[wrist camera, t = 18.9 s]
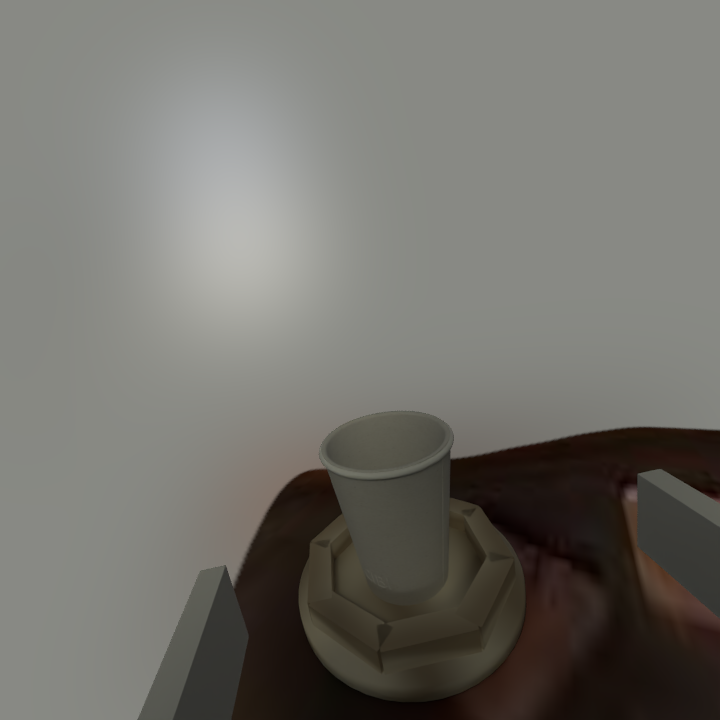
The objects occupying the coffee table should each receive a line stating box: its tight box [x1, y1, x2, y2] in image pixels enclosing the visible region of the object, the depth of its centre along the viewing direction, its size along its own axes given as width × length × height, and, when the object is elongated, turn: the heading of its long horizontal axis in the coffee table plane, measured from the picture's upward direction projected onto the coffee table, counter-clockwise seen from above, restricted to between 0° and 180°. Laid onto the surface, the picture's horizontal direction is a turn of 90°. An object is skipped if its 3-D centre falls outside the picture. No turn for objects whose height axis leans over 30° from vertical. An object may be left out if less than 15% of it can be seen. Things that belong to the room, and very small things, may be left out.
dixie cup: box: [319, 411, 454, 605], centre depth 24 cm, size 8×8×10 cm
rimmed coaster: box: [299, 498, 526, 702], centre depth 26 cm, size 15×15×2 cm
